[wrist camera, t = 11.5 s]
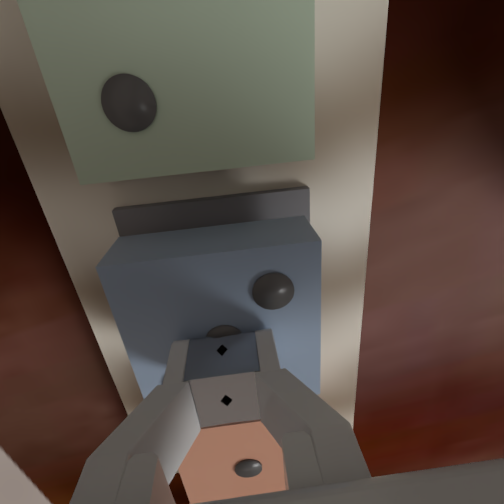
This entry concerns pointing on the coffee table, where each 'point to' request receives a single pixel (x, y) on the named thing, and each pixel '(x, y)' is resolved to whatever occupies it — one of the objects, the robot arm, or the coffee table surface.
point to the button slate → (217, 291)
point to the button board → (223, 187)
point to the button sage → (177, 83)
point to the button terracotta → (232, 462)
